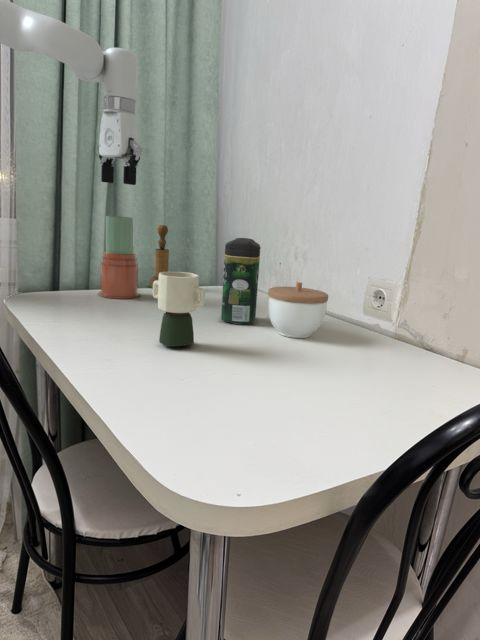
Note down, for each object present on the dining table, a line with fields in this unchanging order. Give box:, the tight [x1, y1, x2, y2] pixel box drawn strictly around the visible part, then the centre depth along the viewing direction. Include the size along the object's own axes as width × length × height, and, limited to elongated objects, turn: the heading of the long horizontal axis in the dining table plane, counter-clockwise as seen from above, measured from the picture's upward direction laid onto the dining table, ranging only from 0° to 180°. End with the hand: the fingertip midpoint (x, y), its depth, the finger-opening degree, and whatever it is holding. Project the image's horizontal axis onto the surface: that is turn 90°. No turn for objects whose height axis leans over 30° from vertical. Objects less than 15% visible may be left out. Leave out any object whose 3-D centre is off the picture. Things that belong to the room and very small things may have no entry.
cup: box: [105, 215, 135, 255], centre depth 129 cm, size 7×7×9 cm
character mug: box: [152, 271, 206, 348], centre depth 90 cm, size 11×7×13 cm, turn 64°
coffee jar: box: [220, 237, 262, 325], centre depth 113 cm, size 10×8×19 cm
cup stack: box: [99, 250, 139, 300], centre depth 131 cm, size 10×10×11 cm
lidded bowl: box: [267, 281, 329, 339], centre depth 107 cm, size 13×13×11 cm
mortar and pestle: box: [149, 224, 170, 289], centre depth 147 cm, size 7×6×18 cm
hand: (118, 183), depth 125 cm, fingers open, 9 cm apart
